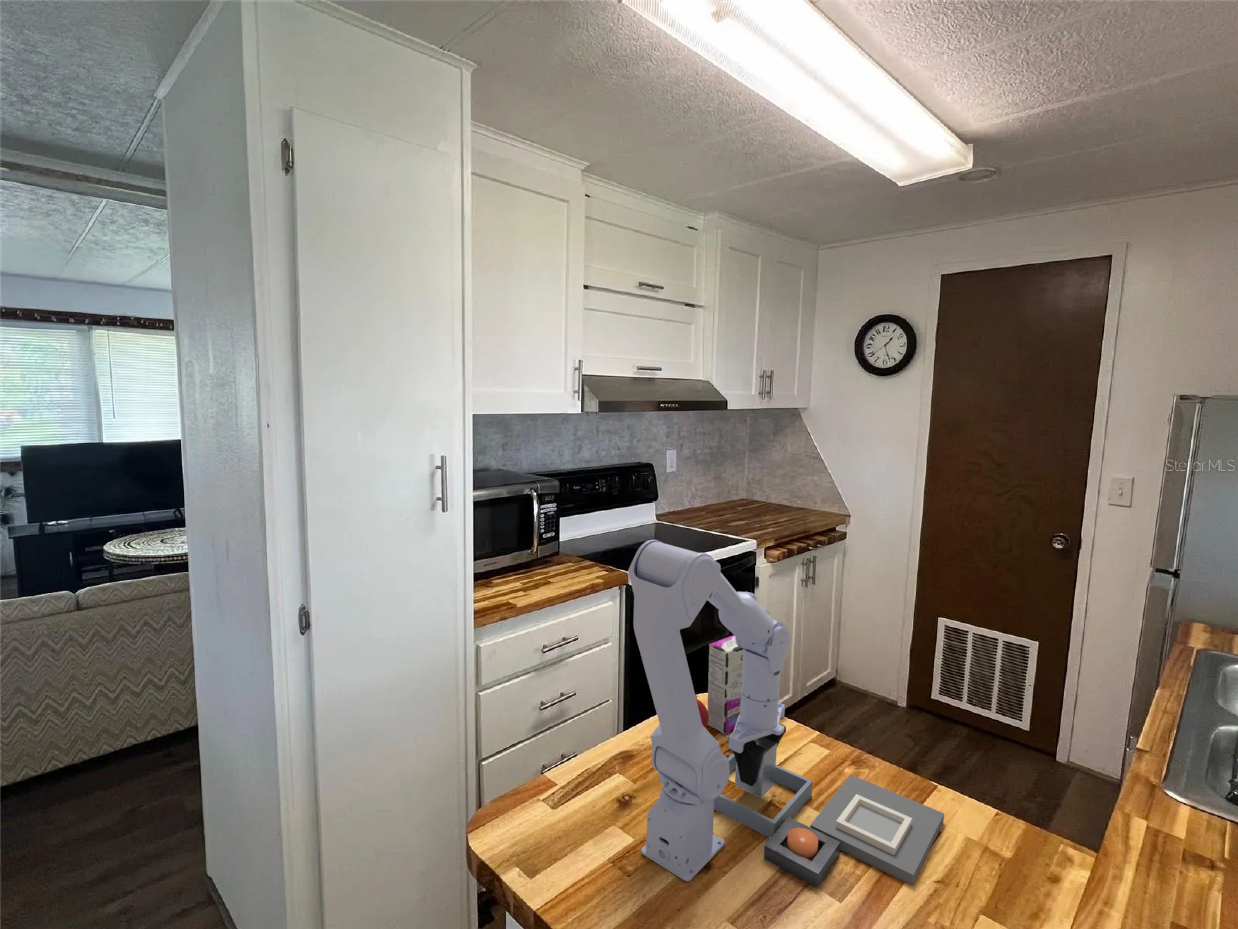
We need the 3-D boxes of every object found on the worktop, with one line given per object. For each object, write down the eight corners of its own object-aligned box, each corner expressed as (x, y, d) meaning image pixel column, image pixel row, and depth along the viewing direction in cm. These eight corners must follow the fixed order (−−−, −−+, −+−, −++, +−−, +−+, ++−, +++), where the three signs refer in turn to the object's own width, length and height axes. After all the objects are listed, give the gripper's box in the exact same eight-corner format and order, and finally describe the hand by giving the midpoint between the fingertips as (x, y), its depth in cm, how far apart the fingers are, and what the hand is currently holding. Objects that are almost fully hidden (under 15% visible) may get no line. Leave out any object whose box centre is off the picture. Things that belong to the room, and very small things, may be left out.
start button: (809, 869, 83) (810, 853, 83) (781, 854, 86) (782, 838, 85) (821, 853, 86) (822, 837, 86) (794, 839, 89) (795, 823, 89)
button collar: (817, 888, 81) (818, 874, 80) (763, 858, 86) (764, 845, 85) (839, 855, 87) (840, 842, 86) (788, 829, 91) (788, 817, 91)
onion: (709, 745, 112) (711, 703, 111) (677, 744, 113) (679, 702, 112) (705, 728, 118) (707, 688, 117) (675, 727, 118) (676, 687, 117)
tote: (773, 840, 89) (774, 824, 89) (695, 799, 98) (696, 784, 97) (811, 795, 99) (812, 781, 99) (738, 762, 108) (738, 748, 107)
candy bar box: (742, 707, 126) (746, 629, 124) (762, 717, 123) (766, 637, 121) (704, 725, 119) (708, 642, 117) (724, 736, 116) (728, 651, 114)
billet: (760, 798, 95) (763, 755, 94) (734, 785, 98) (737, 743, 97) (774, 784, 98) (777, 742, 98) (748, 772, 101) (751, 732, 100)
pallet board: (912, 885, 82) (914, 868, 81) (809, 834, 90) (810, 818, 90) (943, 822, 94) (944, 807, 93) (850, 783, 103) (851, 768, 102)
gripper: (761, 720, 88) (756, 809, 90) (804, 685, 99) (799, 765, 101) (718, 703, 93) (713, 788, 94) (763, 671, 104) (759, 748, 105)
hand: (755, 775), depth 98 cm, fingers closed on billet, 4 cm apart
